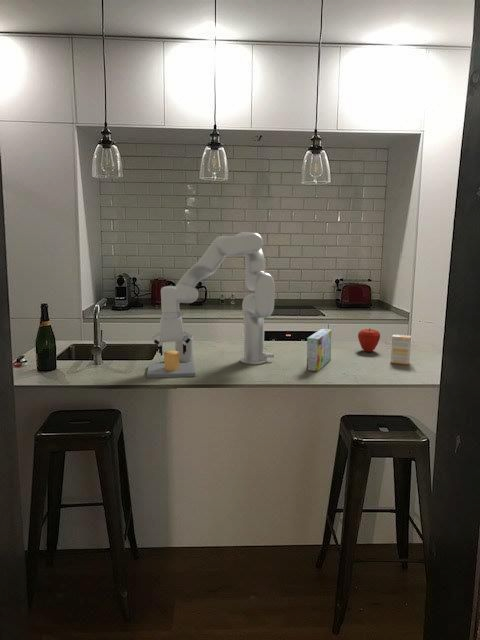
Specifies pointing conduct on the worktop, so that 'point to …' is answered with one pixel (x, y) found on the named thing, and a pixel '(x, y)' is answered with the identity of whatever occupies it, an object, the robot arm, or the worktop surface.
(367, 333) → the apple
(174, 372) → the base
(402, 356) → the supplement box
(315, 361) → the snack box
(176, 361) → the orange cylinder
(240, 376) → the worktop surface
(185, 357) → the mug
